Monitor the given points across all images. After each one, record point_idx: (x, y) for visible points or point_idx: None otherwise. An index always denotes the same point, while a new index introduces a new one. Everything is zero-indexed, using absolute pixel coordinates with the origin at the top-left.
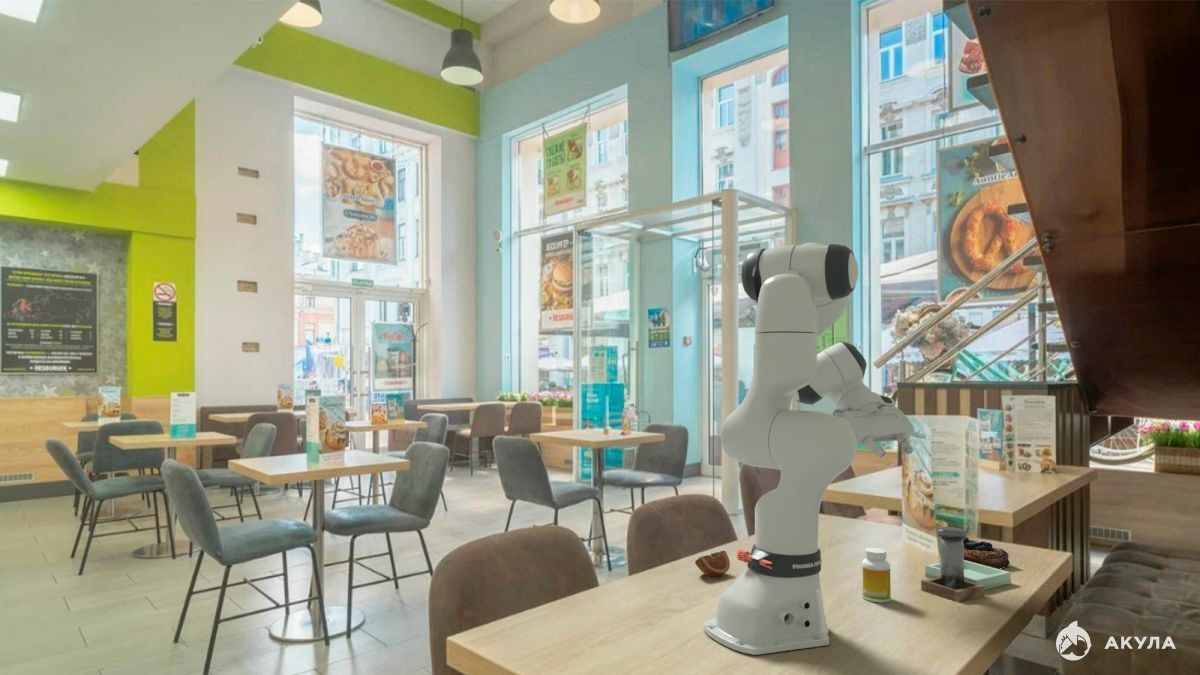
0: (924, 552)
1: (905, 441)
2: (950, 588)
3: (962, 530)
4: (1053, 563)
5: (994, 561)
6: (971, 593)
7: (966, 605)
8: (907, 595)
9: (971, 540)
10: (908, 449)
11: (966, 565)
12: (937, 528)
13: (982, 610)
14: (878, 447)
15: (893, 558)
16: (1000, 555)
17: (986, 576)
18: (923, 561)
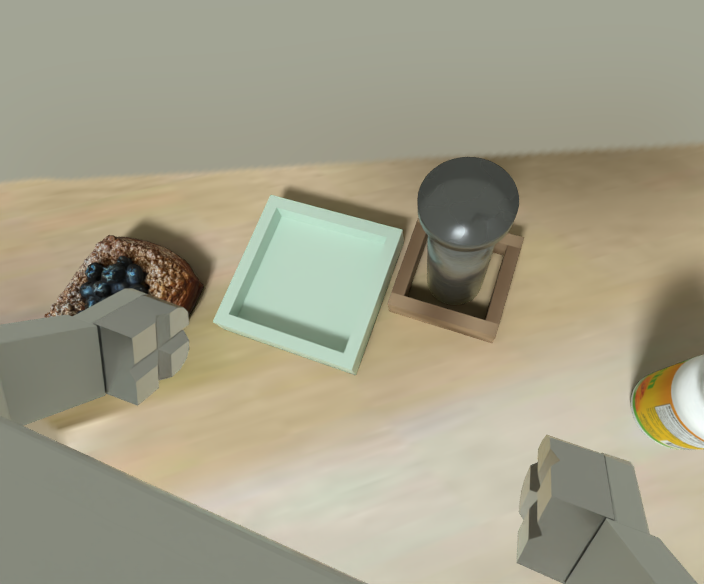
0: (97, 458)
1: (28, 363)
2: (508, 259)
3: (448, 172)
4: (46, 187)
5: (170, 254)
6: None
7: (527, 229)
8: (567, 355)
9: None
10: (177, 317)
11: (240, 300)
12: (483, 239)
13: (535, 196)
14: (638, 516)
15: (221, 515)
16: (139, 243)
17: (348, 222)
18: (202, 428)
